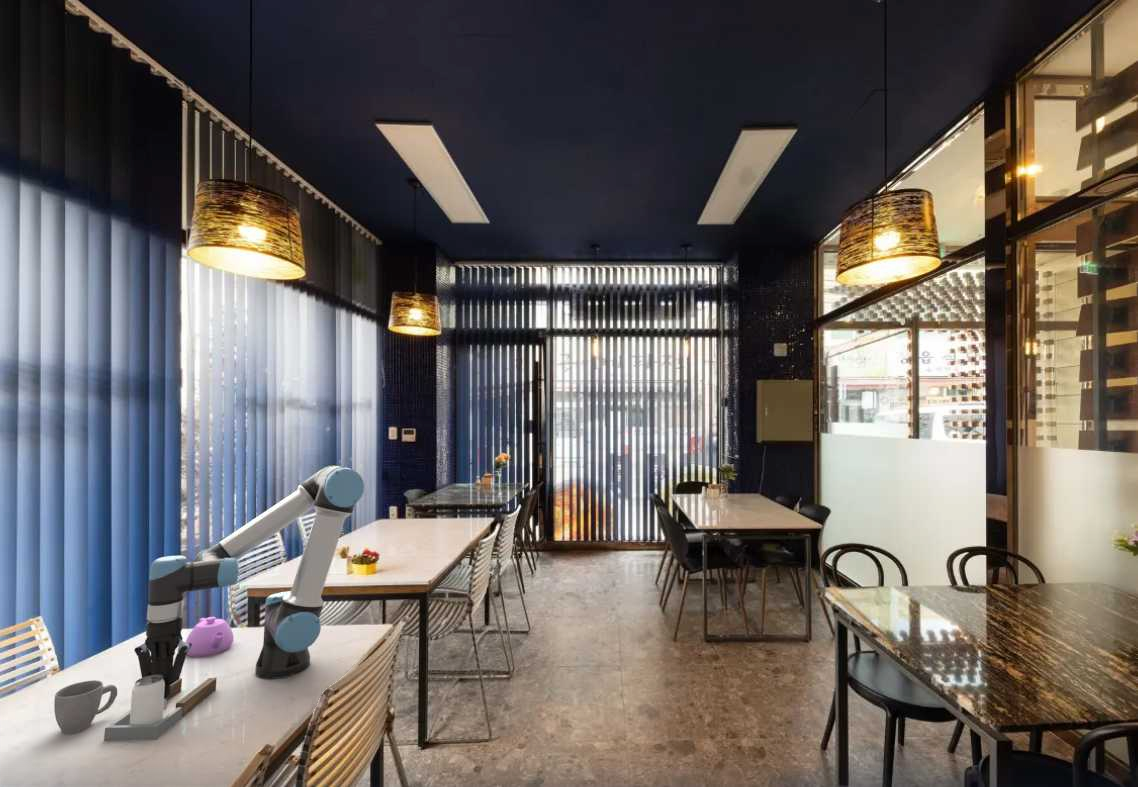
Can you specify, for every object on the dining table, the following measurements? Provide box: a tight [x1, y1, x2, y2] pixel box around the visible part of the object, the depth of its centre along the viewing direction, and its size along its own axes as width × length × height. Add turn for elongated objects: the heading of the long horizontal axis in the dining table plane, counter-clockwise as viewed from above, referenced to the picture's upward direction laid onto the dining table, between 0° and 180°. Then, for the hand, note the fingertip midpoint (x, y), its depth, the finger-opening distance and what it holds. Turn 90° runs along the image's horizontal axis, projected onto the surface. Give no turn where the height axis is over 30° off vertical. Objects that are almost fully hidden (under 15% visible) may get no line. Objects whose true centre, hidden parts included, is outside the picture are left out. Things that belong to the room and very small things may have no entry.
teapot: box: [184, 616, 234, 658], centre depth 177 cm, size 14×20×11 cm
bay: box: [103, 707, 183, 742], centre depth 130 cm, size 12×9×3 cm
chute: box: [166, 677, 217, 718], centre depth 142 cm, size 12×14×4 cm
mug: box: [53, 680, 118, 736], centre depth 132 cm, size 12×9×10 cm
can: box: [129, 675, 165, 725], centre depth 130 cm, size 6×6×12 cm
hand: (159, 711), depth 135 cm, fingers closed
